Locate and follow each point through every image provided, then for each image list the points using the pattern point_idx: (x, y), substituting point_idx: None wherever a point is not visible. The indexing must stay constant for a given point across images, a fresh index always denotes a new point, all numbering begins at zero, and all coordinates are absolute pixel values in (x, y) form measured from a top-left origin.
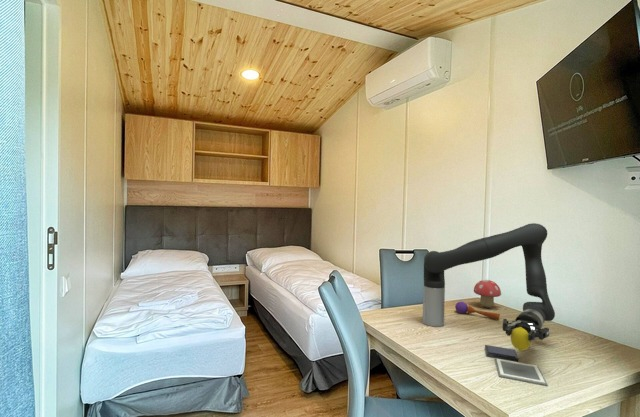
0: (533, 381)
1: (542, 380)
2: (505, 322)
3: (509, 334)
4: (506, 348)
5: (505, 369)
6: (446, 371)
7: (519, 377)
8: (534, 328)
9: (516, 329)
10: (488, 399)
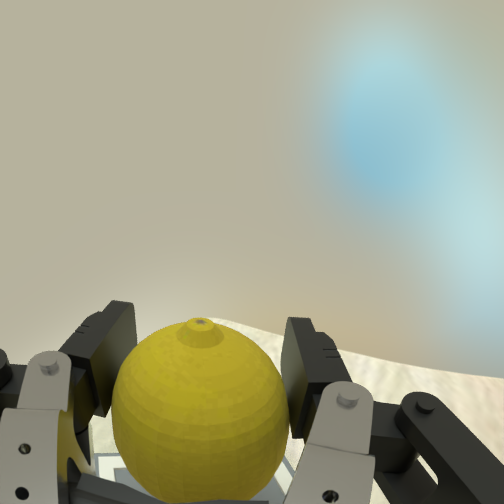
0: None
1: (106, 471)
2: (449, 443)
3: (282, 352)
4: None
5: (268, 495)
6: (387, 366)
7: None
8: (16, 410)
9: (236, 331)
10: (248, 328)
